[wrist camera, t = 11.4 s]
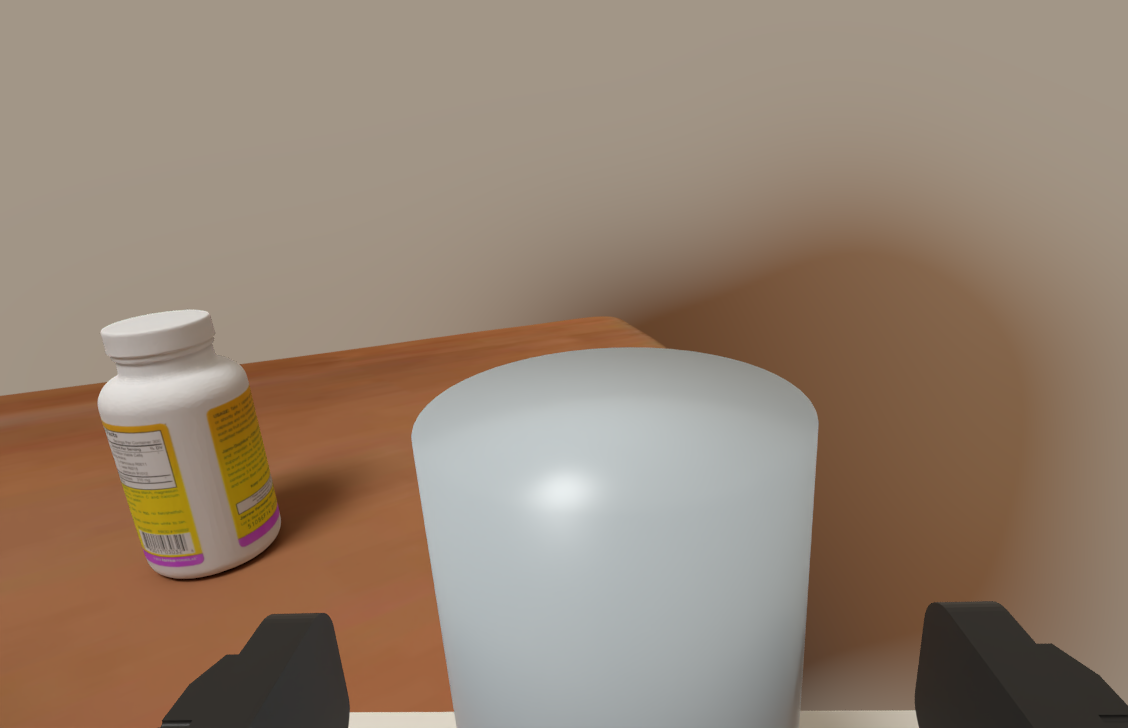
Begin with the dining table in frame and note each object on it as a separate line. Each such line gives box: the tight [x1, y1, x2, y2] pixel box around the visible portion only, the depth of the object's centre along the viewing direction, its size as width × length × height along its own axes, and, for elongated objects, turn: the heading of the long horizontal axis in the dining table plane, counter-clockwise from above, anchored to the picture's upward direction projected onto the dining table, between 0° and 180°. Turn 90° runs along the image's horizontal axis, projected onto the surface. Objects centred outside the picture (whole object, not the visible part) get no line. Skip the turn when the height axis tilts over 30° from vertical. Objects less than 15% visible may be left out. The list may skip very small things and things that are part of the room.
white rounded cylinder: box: [411, 348, 818, 728], centre depth 11 cm, size 6×6×11 cm
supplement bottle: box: [98, 310, 281, 579], centre depth 34 cm, size 7×7×13 cm
